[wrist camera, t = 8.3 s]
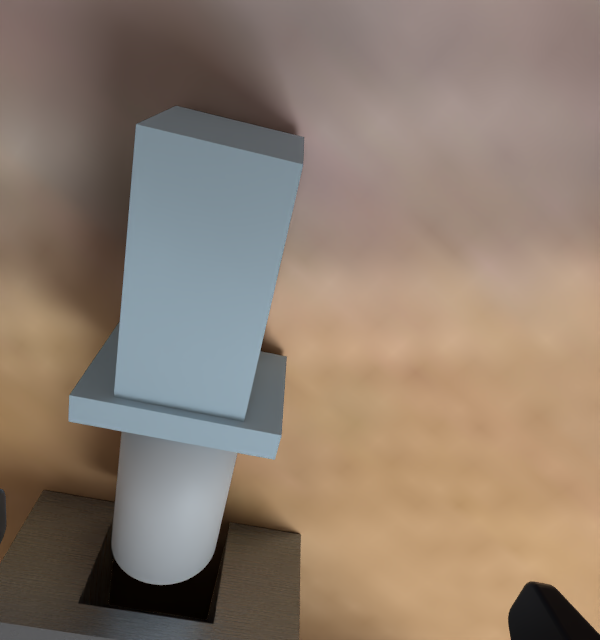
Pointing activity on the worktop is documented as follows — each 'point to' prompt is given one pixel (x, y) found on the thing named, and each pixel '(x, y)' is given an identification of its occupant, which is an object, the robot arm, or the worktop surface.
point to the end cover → (192, 333)
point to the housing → (129, 623)
